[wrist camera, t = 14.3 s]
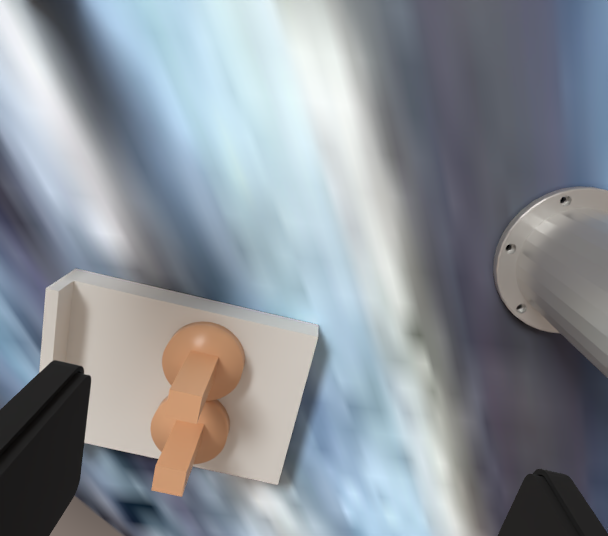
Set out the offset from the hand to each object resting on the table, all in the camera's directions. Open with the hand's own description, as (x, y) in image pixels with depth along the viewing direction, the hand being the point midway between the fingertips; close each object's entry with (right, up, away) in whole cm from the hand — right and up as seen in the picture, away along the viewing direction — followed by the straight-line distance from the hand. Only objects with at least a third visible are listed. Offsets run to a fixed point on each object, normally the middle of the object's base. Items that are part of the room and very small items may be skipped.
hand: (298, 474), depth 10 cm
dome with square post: (-10, -9, +37) cm, 39 cm away
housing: (-11, -6, +36) cm, 38 cm away
